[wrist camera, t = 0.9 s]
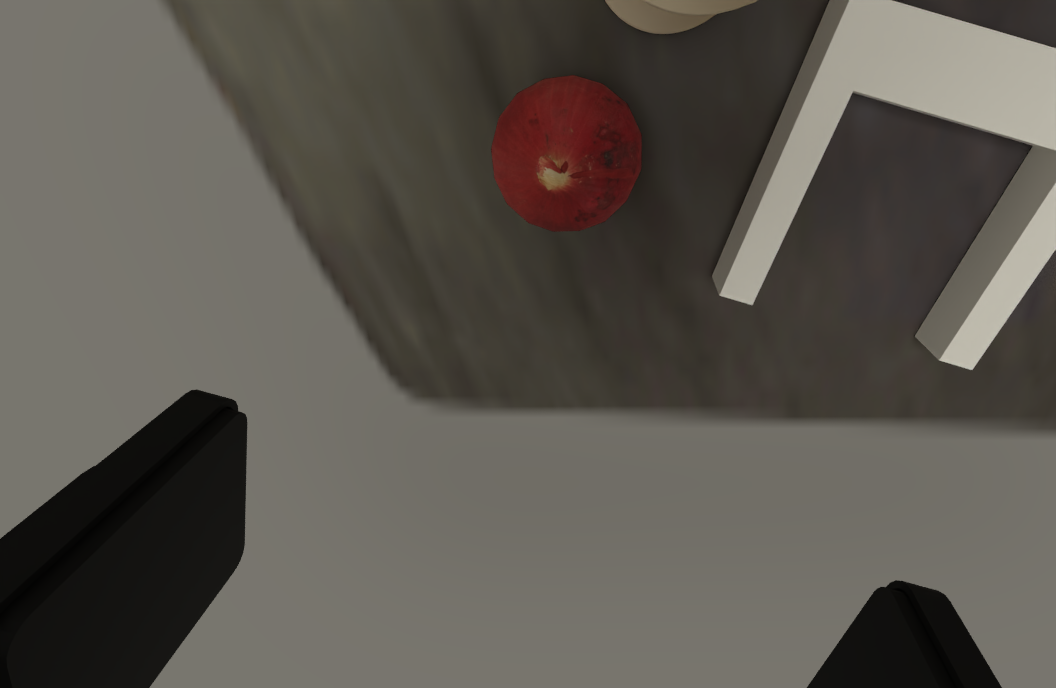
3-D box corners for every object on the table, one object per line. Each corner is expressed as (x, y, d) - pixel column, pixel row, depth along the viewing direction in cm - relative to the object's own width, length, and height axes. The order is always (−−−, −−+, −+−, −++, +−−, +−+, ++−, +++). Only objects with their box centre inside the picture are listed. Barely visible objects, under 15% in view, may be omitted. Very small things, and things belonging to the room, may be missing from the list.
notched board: (831, -6, 24) (854, -11, 21) (1119, 78, 24) (1170, 82, 21) (711, 276, 29) (719, 295, 27) (945, 345, 29) (972, 370, 27)
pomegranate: (638, 66, 26) (645, 74, 19) (639, 203, 28) (646, 257, 21) (501, 78, 27) (458, 90, 19) (514, 210, 29) (480, 264, 22)
